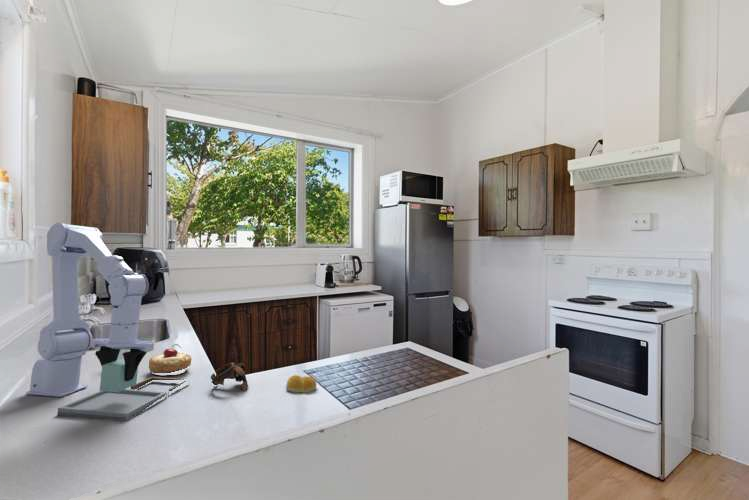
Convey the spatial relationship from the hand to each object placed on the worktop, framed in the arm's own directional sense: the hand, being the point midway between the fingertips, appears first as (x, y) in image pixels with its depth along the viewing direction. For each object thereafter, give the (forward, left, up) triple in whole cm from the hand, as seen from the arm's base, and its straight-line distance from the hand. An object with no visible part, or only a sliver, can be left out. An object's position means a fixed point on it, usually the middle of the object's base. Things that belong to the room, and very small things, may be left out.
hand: (118, 379), depth 85 cm
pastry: (-5, +28, -7) cm, 29 cm away
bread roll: (+40, +23, -7) cm, 46 cm away
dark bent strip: (+2, +13, -6) cm, 15 cm away
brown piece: (+20, +19, -7) cm, 28 cm away
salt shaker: (-22, +29, -7) cm, 37 cm away
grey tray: (0, 0, -6) cm, 6 cm away
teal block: (0, 0, -2) cm, 2 cm away
